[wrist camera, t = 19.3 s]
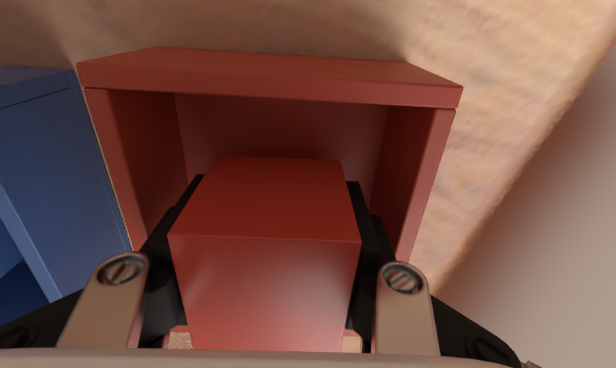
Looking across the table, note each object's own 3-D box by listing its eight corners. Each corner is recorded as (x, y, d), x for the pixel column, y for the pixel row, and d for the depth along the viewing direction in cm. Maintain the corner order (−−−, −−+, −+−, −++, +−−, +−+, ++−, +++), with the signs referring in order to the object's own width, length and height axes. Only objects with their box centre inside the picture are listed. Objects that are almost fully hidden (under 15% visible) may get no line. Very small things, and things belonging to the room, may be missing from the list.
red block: (217, 154, 10) (164, 234, 7) (340, 160, 11) (363, 242, 7) (226, 248, 13) (192, 350, 9) (329, 251, 13) (340, 353, 9)
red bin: (155, 46, 11) (73, 62, 7) (409, 62, 11) (465, 86, 7) (194, 256, 16) (159, 332, 12) (365, 262, 17) (384, 337, 13)
